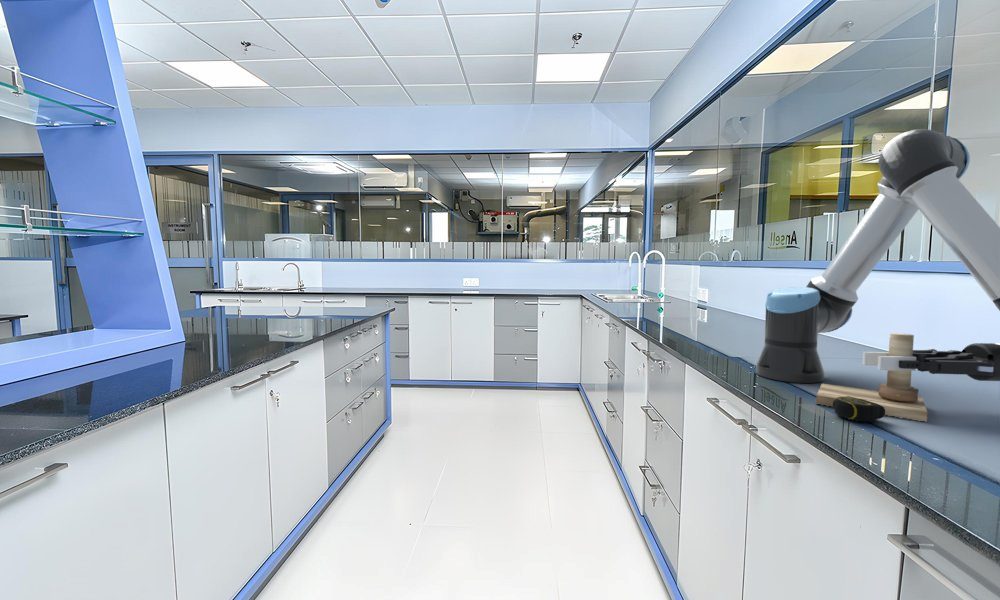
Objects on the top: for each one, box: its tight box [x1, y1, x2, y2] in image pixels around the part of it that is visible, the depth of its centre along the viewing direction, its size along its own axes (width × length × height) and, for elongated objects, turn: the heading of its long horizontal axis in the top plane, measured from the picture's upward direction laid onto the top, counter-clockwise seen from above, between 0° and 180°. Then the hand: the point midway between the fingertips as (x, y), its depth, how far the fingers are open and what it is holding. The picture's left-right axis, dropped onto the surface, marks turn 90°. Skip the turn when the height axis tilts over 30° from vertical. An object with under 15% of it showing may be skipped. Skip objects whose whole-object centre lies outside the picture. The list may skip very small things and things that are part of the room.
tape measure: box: [832, 396, 886, 423], centre depth 85 cm, size 7×7×4 cm
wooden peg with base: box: [878, 332, 919, 401], centre depth 89 cm, size 7×6×13 cm
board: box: [815, 383, 928, 423], centre depth 93 cm, size 12×17×2 cm
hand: (871, 360), depth 90 cm, fingers closed on wooden peg with base, 4 cm apart
